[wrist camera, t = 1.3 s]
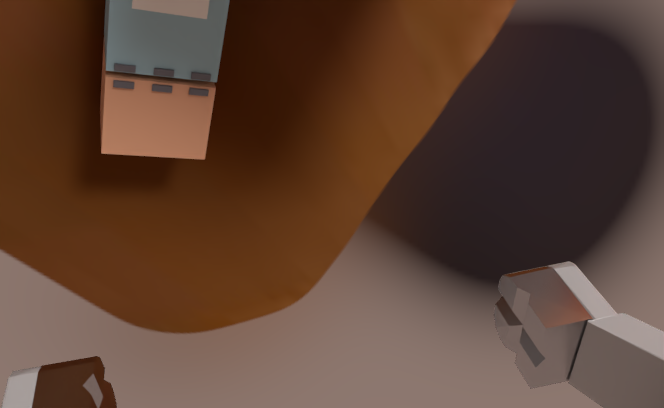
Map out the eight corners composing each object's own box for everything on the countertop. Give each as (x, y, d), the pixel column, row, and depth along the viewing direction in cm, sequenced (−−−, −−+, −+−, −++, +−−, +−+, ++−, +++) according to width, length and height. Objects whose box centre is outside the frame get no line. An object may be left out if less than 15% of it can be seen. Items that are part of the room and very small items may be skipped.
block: (100, 107, 34) (101, 155, 30) (103, 37, 32) (105, 78, 28) (192, 115, 35) (205, 161, 32) (201, 49, 33) (216, 89, 29)
